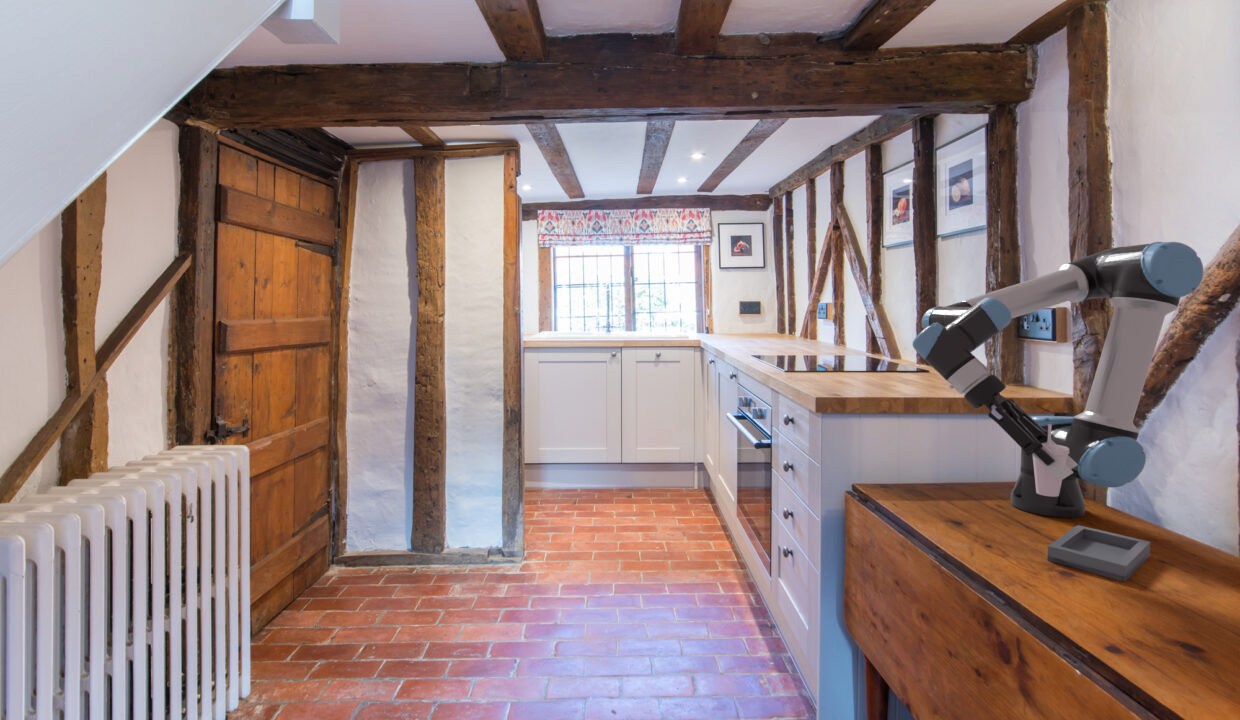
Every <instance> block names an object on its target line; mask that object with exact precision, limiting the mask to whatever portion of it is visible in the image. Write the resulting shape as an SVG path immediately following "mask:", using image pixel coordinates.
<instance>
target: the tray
mask: <svg viewBox="0 0 1240 720" xmlns="http://www.w3.org/2000/svg"><path fill="white" fill-rule="evenodd" d="M1151 543H1152V542H1151V541H1148V540H1143V539H1139V538H1136V537H1132V536H1127V535H1122V534H1118V533H1113V532H1111V531H1110V532H1109V531H1105V530H1101V529H1098V528H1093V527H1089V526H1088V527H1087V526H1083V525H1079V524H1077V525H1076V526H1074V527H1072V528H1071V529H1070V530H1069V531H1067V532H1066V533H1064V534H1063V535H1062V536H1060V537H1059V538H1057V539H1056V540H1054V541H1053V542H1051V543H1050V544H1049V545H1047V558H1046V559H1047V561H1048V562H1052V563H1055V564H1059V565H1062V566H1065V567H1070V568H1073V569H1075V570H1076V569H1077V570H1080V571H1083V572H1087V573H1090V574H1094V575H1098V574H1099V575H1098V576H1101V575H1102V576H1101V577H1105V576H1106V578H1108V577H1110V578H1109V579H1112V578H1113V579H1112V580H1115V579H1117V580H1116V581H1119V580H1120V581H1119V582H1123V581H1124V582H1123V583H1126V582H1125V581H1126V580H1127V579H1128V580H1129V579H1130V578H1131V576H1133V574H1134V573H1135V572H1136V571H1137V570H1138V569H1139V568H1140V567H1141V566H1142V565H1143V564H1144V563H1145V562H1146V561H1147V560H1148V559H1149V558H1150V557H1151V545H1152V544H1151ZM1148 557H1149V558H1148ZM1141 564H1142V565H1141ZM1128 580H1127V581H1128Z"/></svg>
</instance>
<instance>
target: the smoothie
mask: <svg viewBox="0 0 1240 720" xmlns="http://www.w3.org/2000/svg"><path fill="white" fill-rule="evenodd" d="M1051 426H1052V425H1051V424H1048V439H1047V443H1041V444H1042V445H1043V446H1046V447H1047V448H1048V449H1050V450H1051V451H1052V452H1053V453H1054V454H1055V455H1056V456H1057V457H1058V458H1059V459H1060V460H1061V461H1062V462H1063V463H1064V464H1065V463H1066V459H1067V454H1069V448H1068V447H1066V446H1062V445H1057V444H1051ZM1033 464H1034V474H1035V484H1036V493H1037V494H1040V495H1044V496H1050V497H1057V496H1059V493H1060V488H1061V483H1062V480H1061V481H1060V480H1059V479H1057V478H1056V477H1055V476H1054V475H1053V474H1052V473H1051V472H1050V471H1049V470H1048V469H1047V468H1046V467H1045V466H1044V465H1043V464H1042V463H1041V462H1040V461H1039V460H1038V459H1037V458H1036V457H1035V456H1034V455H1033Z"/></svg>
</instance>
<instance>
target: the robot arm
mask: <svg viewBox="0 0 1240 720" xmlns="http://www.w3.org/2000/svg"><path fill="white" fill-rule="evenodd" d="M1203 278H1204V266H1203V261H1202V259H1201V257H1199V256H1198V253H1197V252H1196V251H1195V249H1194V248H1192V247H1190V246H1189V245H1188V244H1185V243H1182V242H1177V241H1164V242H1163V241H1155V242H1151V243H1144V244H1137V245H1128V246H1127V245H1126V246H1119V247H1118V246H1117V247H1112V248H1109V249H1105V250H1102V251H1099V252H1096V253H1094V254H1090V255H1087V256H1086V257H1082V258H1080V259H1077V260H1074V261H1071V262H1069V263H1066V264H1065V263H1064V264H1062V265H1060V266H1059V267H1058V269H1057V270H1056V271H1054V272H1051V273H1048V274H1045V275H1044V274H1043V275H1042V276H1039V277H1035V278H1032V279H1029V280H1026V281H1022V282H1019V283H1017V284H1013V285H1010V286H1006V287H1003V288H1000V289H997V290H994V291H990V292H987V293H985V294H981V295H978V296H975V297H972V298H969V299H966V300H963V301H960V302H957V303H953V304H950V305H947V306H936V307H932V308H930V309H928V310H927V311H925V313H923V316H922V318H921V327H922V330H921V332H919V333H918V334H917V335H916V336H915V338H913V341H912V348H914V350H915V351H916V353H918V355H919V357H920V358H922V359H923V360H924V361H925V362H926V363H928V365H929V366H931V368H932V369H934V370H935V371H936V372H937V373H938V374H939V375H940V376H941V377H942V378H943V379H944V380H945V381H946V382H947V383H948V384H949V389H955V391H956V392H957V393H959V394H960V395H962V394H964V396H963V397H964V398H963V399H964V400H965V401H966V402H968V404H970V405H971V406H972V408H974V409H975V410H977V409H978V410H979V409H980V408H982V407H983V406H985V407H986V408H987V410H988V411H989V412H988V414H987V415H988V417H989V418H990V419H992V420H993V422H995V423H996V424H997V425H998V426H999V427H1000V428H1001V429H1002V430H1003V431H1004V432H1005V433H1006V434H1007V435H1008V436H1009V437H1010V438H1011V439H1012V440H1013V441H1014V442H1015V443H1016V444H1017V445H1018V446H1019V448H1020V466H1019V467H1020V471H1019V472H1020V473H1019V476H1018V478H1017V480H1016V482H1015V484H1014V486H1013V488H1012V490H1011V494H1010V504H1011V505H1012V506H1013V507H1015V508H1017V509H1019V510H1022V511H1024V512H1027V513H1032V514H1036V515H1039V516H1040V515H1042V516H1047V517H1054V518H1068V519H1069V518H1071V519H1072V518H1080V517H1082V516H1083V517H1084V516H1085V514H1086V503H1085V502H1086V501H1085V498H1084V496H1083V493H1082V490H1081V487H1080V484H1079V479H1080V480H1082V481H1084V482H1086V483H1089V484H1093V485H1095V486H1096V485H1097V486H1100V487H1105V488H1120V487H1123V486H1126V485H1127V484H1129V483H1131V482H1134V480H1136V479H1137V478H1138V477H1139V476H1140V474H1141V473H1142V471H1143V470H1144V468H1145V466H1146V460H1147V458H1146V457H1147V456H1146V451H1145V452H1144V447H1143V445H1141V443H1139V442H1138V437H1139V434H1140V431H1139V429H1138V428H1137V427H1136V425H1135V424H1134V420H1135V419H1134V418H1135V415H1136V412H1137V410H1138V406H1139V403H1140V399H1141V396H1142V393H1143V390H1144V387H1145V383H1146V380H1147V377H1148V373H1149V371H1150V368H1151V363H1152V360H1153V357H1154V354H1155V350H1156V347H1157V344H1158V342H1159V338H1160V334H1161V332H1162V331H1161V330H1162V327H1163V325H1164V322H1165V321H1164V320H1165V317H1166V316H1167V315H1169V314H1171V313H1172V312H1174V311H1176V310H1178V307H1179V304H1180V302H1181V301H1180V300H1181V298H1184V297H1186V296H1188V295H1190V294H1193V292H1194V291H1196V290H1197V289H1198V288H1199V287H1200V285H1201V283H1202V281H1203ZM1104 298H1108V302H1109V303H1110V304H1111V305H1112V306H1113V308H1114V310H1113V314H1112V318H1111V320H1110V323H1109V328H1108V331H1107V334H1106V337H1105V340H1104V344H1103V347H1102V351H1101V354H1100V358H1099V362H1098V365H1097V366H1096V367H1097V368H1096V370H1095V375H1094V378H1093V381H1092V384H1091V387H1090V390H1089V394H1088V397H1087V400H1086V404H1085V407H1084V410H1083V412H1080V413H1079V414H1077V415H1074V416H1066V415H1065V416H1062V415H1061V416H1058V415H1056V416H1055V415H1054V416H1053V415H1037V416H1036V415H1033V416H1032V415H1029V414H1027V412H1026V411H1025V410H1023V409H1022V408H1021V407H1020V406H1019V405H1018V404H1017V403H1016V402H1015V400H1013V398H1005V397H1004V396H1003V395H1001V392H1003V391H1004V390H1005V389H1006V387H1007V386H1006V384H1005V383H1004V382H1003V381H1002V380H1000V379H999V378H998V376H996V375H995V374H990V372H991V370H990V369H989V367H987V366H986V365H985V364H984V363H983V362H982V361H980V360H979V359H978V358H977V357H976V356H975V355H974V354H973V353H972V352H973V351H975V350H976V349H978V348H979V347H980V346H982V345H983V344H984V343H987V341H988V340H991V338H993V337H994V336H996V335H997V334H1000V333H1001V331H1002V330H1004V329H1005V328H1006V327H1007V326H1008V325H1010V323H1011V322H1012V319H1015V318H1017V317H1021V316H1024V315H1028V314H1031V313H1034V312H1037V311H1040V310H1043V309H1046V308H1049V307H1053V306H1056V305H1060V304H1063V303H1065V302H1070V303H1076V304H1077V303H1080V302H1084V301H1088V300H1093V299H1094V300H1095V299H1104ZM1048 424H1051V425H1052V426H1051V444H1057V445H1062V446H1066V447H1068V448H1069V454H1067V459H1066V463H1065V464H1064V463H1063V462H1062V461H1061V460H1060V459H1059V458H1058V457H1057V456H1056V455H1055V454H1054V453H1053V452H1052V451H1051V450H1050V449H1048V448H1047V447H1046V446H1043V445H1042V444H1041V443H1047V439H1048ZM1033 455H1034V456H1035V457H1036V458H1037V459H1038V460H1039V461H1040V462H1041V463H1042V464H1043V465H1044V466H1045V467H1046V468H1047V469H1048V470H1049V471H1050V472H1051V473H1052V474H1053V475H1054V476H1055V477H1056V478H1057V479H1059V480H1060V481H1061V480H1062V483H1061V488H1060V493H1059V496H1057V497H1050V496H1044V495H1040V494H1037V493H1036V484H1035V474H1034V464H1033Z"/></svg>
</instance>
